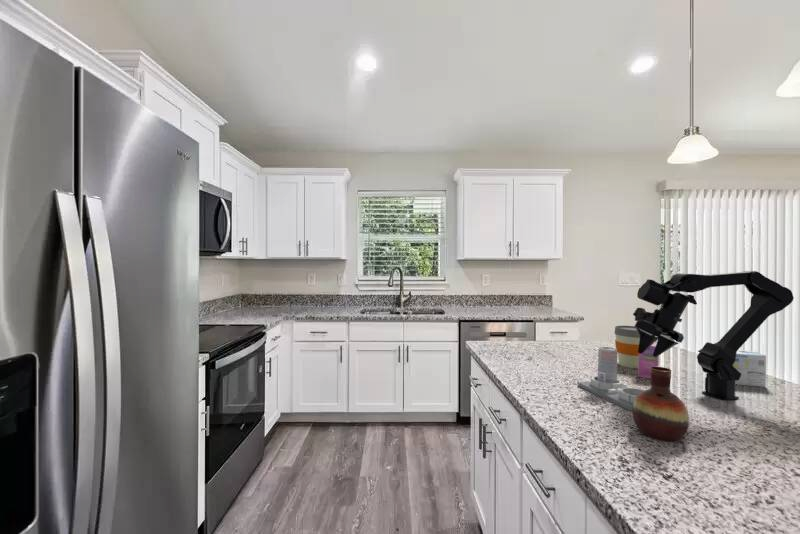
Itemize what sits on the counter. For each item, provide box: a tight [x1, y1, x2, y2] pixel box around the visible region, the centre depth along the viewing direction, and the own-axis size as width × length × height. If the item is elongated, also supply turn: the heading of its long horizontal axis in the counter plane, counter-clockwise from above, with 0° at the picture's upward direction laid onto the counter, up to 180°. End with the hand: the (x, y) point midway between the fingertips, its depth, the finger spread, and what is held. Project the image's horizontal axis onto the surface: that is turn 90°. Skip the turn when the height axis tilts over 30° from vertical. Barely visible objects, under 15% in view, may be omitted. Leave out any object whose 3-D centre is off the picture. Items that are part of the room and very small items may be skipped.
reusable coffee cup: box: [614, 325, 640, 369], centre depth 153 cm, size 13×13×15 cm
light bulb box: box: [733, 350, 767, 388], centre depth 131 cm, size 11×7×11 cm, turn 74°
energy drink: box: [597, 346, 618, 383], centre depth 121 cm, size 5×5×12 cm
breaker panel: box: [577, 375, 646, 412], centre depth 116 cm, size 22×13×3 cm, turn 12°
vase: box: [631, 366, 690, 442], centre depth 90 cm, size 11×11×15 cm
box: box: [637, 341, 660, 380], centre depth 139 cm, size 10×6×12 cm, turn 143°
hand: (647, 354), depth 122 cm, fingers open, 9 cm apart
